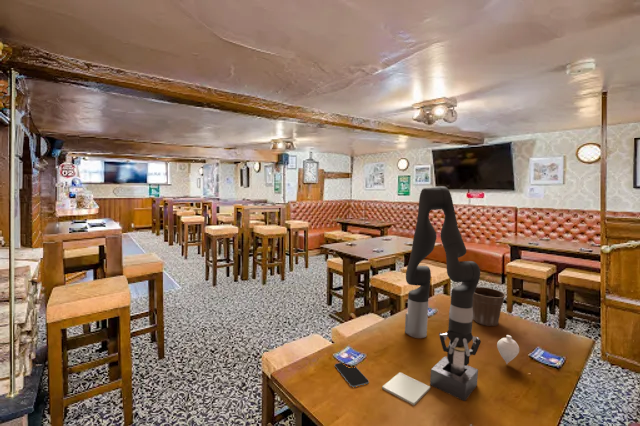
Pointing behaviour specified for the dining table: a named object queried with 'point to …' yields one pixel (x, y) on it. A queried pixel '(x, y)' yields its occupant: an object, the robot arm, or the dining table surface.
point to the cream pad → (406, 388)
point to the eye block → (453, 379)
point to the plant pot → (487, 305)
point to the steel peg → (458, 361)
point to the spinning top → (508, 348)
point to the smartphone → (352, 375)
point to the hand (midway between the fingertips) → (457, 363)
